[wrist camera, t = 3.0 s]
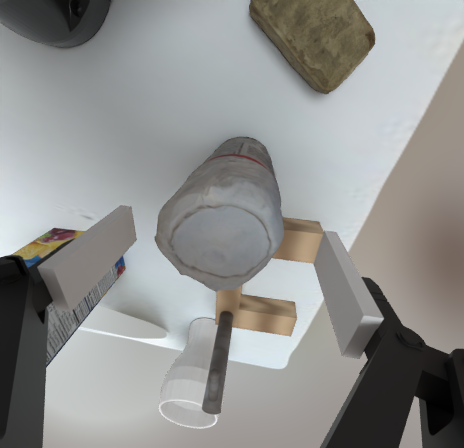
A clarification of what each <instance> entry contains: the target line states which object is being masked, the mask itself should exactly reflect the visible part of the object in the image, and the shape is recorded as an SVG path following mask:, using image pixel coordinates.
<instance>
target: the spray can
mask: <svg viewBox="0 0 464 448" xmlns="http://www.w3.org/2000/svg"><path fill="white" fill-rule="evenodd" d="M280 208H281V198H280V192H279V188H278V185H277V181H276V178H275V174H274V170H273V166H272V161H271V158H270V156H269V154H268V152H267V150H266V148H265V146H264V145H262V144H261V143H260V142H258V141H257V140H255V139H253V138H249V137H237V138H233V139H229V140H227V141H226V142H225V143H223V144H222V145H221V146H220V147H219V148H218V149H217V150H215V152H214V153H213V154H212V155H211V156H210V157H209V158H208V159H207V160H206V161H205V162H204V163H203V164H202V165H201V166H199V167H198V168H197V169H196V170H195V171H194V172H193V173H192V174H191V175H190V176H189V177H188V179H187V181H186V182H185V183H184V184H183V186H182V187H181V188H180V189H179V190H178V191H177V192H176V193H175V195H174V196H173V197H172V198H171V199H170V200H169V201H168V202H167V203H166V204H165V205H164V206H163V208H162V209H161V211H160V213H159V215H158V225H157V234H156V236H155V242H156V244H157V246H158V248H159V250H160V251H161V252H162V254H163V255H164V256H165V257H166V258H167V259H168V260H169V261H170V262H171V263H172V264H173V265H174V266H175V268H176V269H177V270H178V271H179V273H180V274H181V275H187V276H189V277H191V278H193V279H195V280H197V281H199V282H200V283H202V284H204V285H205V286H207V287H208V288H210V289H212V290H214V291H220V290H235V289H238V288H239V287H240V286H241V285H242V284H244V283H246V282H247V281H249V280H250V279H251V278H252V277H254V276H255V275H256V274H257V273H258V272H260V271H261V270H262V269H263V268H264V267H265V266H266V265H267V263H268V262H269V261H270V259H271V258H272V256H273V255H274V254H275V252H276V251H277V250H278V248H279V246H280V245H281V243H282V240H283V237H284V225H283V218H282V214H281V210H280Z"/></svg>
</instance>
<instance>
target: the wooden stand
mask: <svg viewBox="0 0 464 448" xmlns="http://www.w3.org/2000/svg"><path fill="white" fill-rule="evenodd" d="M283 225H284V237H283V240H282V243H281V245H280V246H279V248H278V250H277V251H276V252H275V254H274V255H273V256H272V258H276V259H283V260H291V261H298V262H306V263H314V261H315V258H316V255H317V251H318V248H319V245H320V242H321V239H322V236H323V233H324V232H323V229H322V227H321V225H320V223H319V222H316V221H308V220H299V219H291V218H283ZM241 289H242V285H241V286H240V287H239V288H238V289H235V290H220V291H217V300H216V318H215V325H218V328H217V333H216V338H215V343H214V348H213V353H212V358H211V363H210V369H209V374H208V379H207V384H206V389H205V394H204V399H203V404H202V410H203V411H204V412H205V413H208V414H212V415H216V414H219V413H220V412H221V405H222V398H223V390H224V383H225V375H226V367H227V361H228V353H229V346H230V338H231V331H232V327H234V328H240V329H247V330H253V331H260V332H266V333H273V334H279V335H286V336H291V335H292V332H293V329H294V326H295V323H296V320H297V315H296V309H295V302H290V301H283V300H276V299H269V298H263V297H256V296H249V295H242V294H241Z"/></svg>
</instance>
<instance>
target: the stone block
mask: <svg viewBox="0 0 464 448" xmlns="http://www.w3.org/2000/svg"><path fill="white" fill-rule="evenodd" d="M249 10H250V15H251V16H252V17H253V19H254V20H255V21H256V22H257V23H258V25H259V26H260V27H261V28H262V29H263V31H264V32H265V33H266V34H267V35H268V37H269V38H270V39H271V40H272V41H273V42H274V43H275V44H276V46H277V47H278V48H279V49H280V51H281V52H282V53H283V55H284V56H285V58H286V59H287V60H288V61H289V63H290V64H291V65H292V67H293V68H295V69H296V70H297V71H298V72H299V74H300V75H301V76H302V77H303V78H304V79H305V80H306V82H307V83H308V84H309V85H310V86H311V87H312V88H313V89H315V90H316V91H319V92H322V93H324V94H328V93H329V92H331V91H333V90H335V89H336V88H337V87H338V86H339V85H340V84H341V83H342V82H343V81H344V80H345V79H346V78H347V77H348V76H349V75H350V74H351V73H352V72H353V71H354V69H355V68H356V67H357V66H358V65H359V64H360V63H361V62H362V61H363V60H364V58H365V57H366V56H367V55H368V52H369V51H370V50H371V49H372V48H373V46H374V45H375V33H374V31H373V28H372V27H371V25H370V24H369V22H368V21H367V20H366V18H365V17H364V15H363V14H362V12H361V11H360V9H359V7H358V6H357V4H356V3H355V2H354V0H251V3H250V6H249Z"/></svg>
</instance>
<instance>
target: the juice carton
mask: <svg viewBox="0 0 464 448" xmlns="http://www.w3.org/2000/svg"><path fill="white" fill-rule="evenodd" d="M83 233H84V231H75V230H67V229H58V228H53V229H52V230H50V231H49V232H47V233H45V234H44V235H42V236H41V237H39V238H37V239H36V240H34V241H33V242H31V243H29V244H28V245H26V246H25V247H23V248H21V249H20V250H18V251H17V252H15V253H13V254H12V255H19V256H22V257H23V259H24V261H25V263H26V265H27V267H28V268H29V267H30V266H32V265H33V264H35V263H36V262H37V261H39V260H40V259H42V258H43V257H44V256H46V255H47V254H50V252H51V251H53V250H54V249H56V248H57V247H58V246H60V245H61V244H63V243H64V242H67V241H69V240H71V239H73V238H75V239H76V238H77V237H79V236H80V235H81V234H83ZM125 269H126V268H125V264H124V260H123V256H122V257H121V258H120V259H119V260H118V261H117V262H116V263H115V264H114V265H113V267H112V268H111V269H110V270H109V271H108V272H107V273H106V274H105V275H104V276H103V278H102V279H101V280H100V281H99V282H98V283H97V284H96V285H95V286H94V287H93V288H92V290H91V291H90V292H89V293H88V294H87V295H86V296H85V297H84V298H83V299H82V301H81V302H80V303H79V304H78V305H77V306H76V307H75V308H74V309H73V310H72V312H67V311H60V310H56V308H55V305H54V303H53V302H52V303H51V304H49V305H48V306H47V309H48V312H49V317H48V339H47V360H46V367H47V366H48V365H49V364H50V362H51V361H52V360H53V358H54V357H55V356H56V355H57V354H58V352H59V351H60V350H61V349H62V347H63V346H64V345H65V343H66V342H67V341H68V340H69V339H70V337H71V336H72V335H73V334H74V332H75V331H76V330H77V329H78V327H79V326H80V325H81V323H82V322H83V321H84V320H85V318H86V317H87V316H88V315H89V314H90V312H91V311H92V310H93V309H94V307H95V306H96V305H97V304H98V302H99V301H100V300H101V299H102V297H103V296H104V295H105V294H106V292H107V291H108V290H109V289H110V287H111V286H112V285H113V284H114V283H115V281H116V280H117V279H118V278H119V276H120V275H121V274H122V273H123V271H124V270H125Z"/></svg>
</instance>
